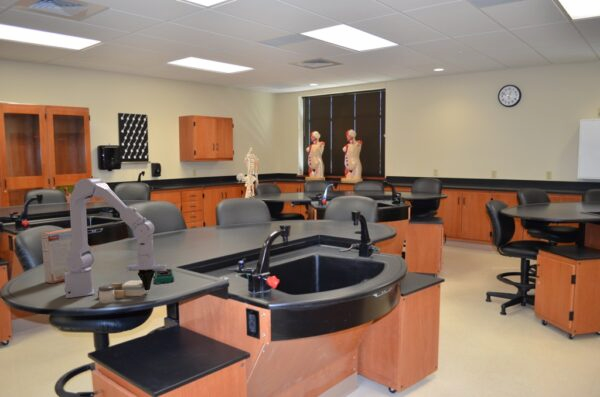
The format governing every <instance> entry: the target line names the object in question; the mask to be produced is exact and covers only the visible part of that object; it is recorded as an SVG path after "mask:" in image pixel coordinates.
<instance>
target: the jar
mask: <svg viewBox="0 0 600 397" xmlns="http://www.w3.org/2000/svg"><path fill="white" fill-rule="evenodd" d="M98 291H99V298H98V299H99V304H104V305H105V304H111V303H114V302H115V301H116V300H115V299H116V298H115V295H114V285H109V284H106V285H102V286H99V287H98Z"/></svg>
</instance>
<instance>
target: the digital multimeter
mask: <svg viewBox="0 0 600 397" xmlns="http://www.w3.org/2000/svg"><path fill="white" fill-rule="evenodd" d="M154 277H155V278H154V279H155V280H154V282H155V284H164V283H163V282H167V283H172V282H171V281H174V282H175V278H174V277H175V276H174V273H173V269H172V268H167V270H165V271H162V270H159V271H155V273H154Z"/></svg>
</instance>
